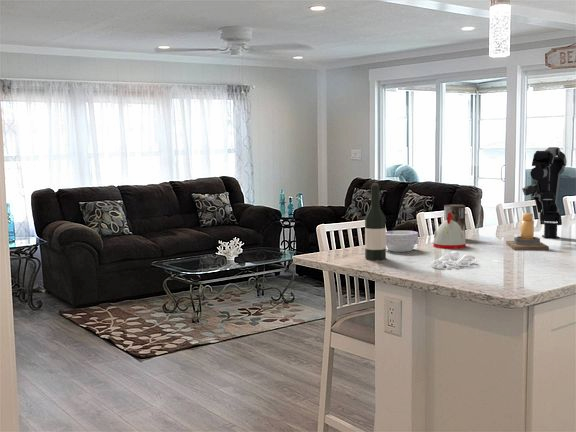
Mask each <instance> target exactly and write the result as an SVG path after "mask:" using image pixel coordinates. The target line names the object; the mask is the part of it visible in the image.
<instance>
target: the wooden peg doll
mask: <svg viewBox="0 0 576 432" xmlns="http://www.w3.org/2000/svg"><path fill="white" fill-rule="evenodd" d="M533 218H534V217H533V213H530V212H529V213H527V212H526V213H525V212H524V213H522V220H520V236H521V239H533V238H534V237H535V236H534V232H535V231H534V228H535V227H534V226H535V225H534V224H535V221H534V220H533Z"/></svg>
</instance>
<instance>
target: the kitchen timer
mask: <svg viewBox="0 0 576 432" xmlns="http://www.w3.org/2000/svg"><path fill="white" fill-rule="evenodd" d="M432 243H433V245H432V246H433V248H438V249H442V250H443V249H445V250H447V249H448V250H456V249H457V250H459V249H464V248H466V247H467V246H466V245H467V243H466V233H465V234H464V231H462V229H461V227H460V226H459V225H458V224H457V223H456V222H455V221H453V220H452V215H451V213H448V217H447V220H446V221H444V220H443V222H442V223H441V224H440V225H439V226H438V227H437V229H436V230H434V234H433V242H432Z"/></svg>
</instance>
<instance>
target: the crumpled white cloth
mask: <svg viewBox="0 0 576 432" xmlns="http://www.w3.org/2000/svg"><path fill="white" fill-rule="evenodd" d="M472 261H473V262H472ZM476 263H477V259H476V256H474V255H472V254H464V255H463V256H462V257H461V258H460V253H459V252H458V251H456V250H453V251H451V252H449V251H447V253H446V254H444V255H442V256H441V257H439V258H437V259H435V260H432V261H431V262H429V264H430V266H431V267H433V268H436V269H437V270H451V269H452V268H456V267H468V266H471V264H472V265H474V264H476ZM445 267H446V268H445Z"/></svg>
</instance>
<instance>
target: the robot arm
mask: <svg viewBox="0 0 576 432" xmlns="http://www.w3.org/2000/svg"><path fill="white" fill-rule="evenodd" d="M531 167H533V168H532V169H531V170H530V172H529V174H530V177H531V178H532V180H534V182H533V184H529V185H527V186H525V187H522V188H521V190H522V192H523V195H524V196H529V195H530V197H531V199H532V200H534V202H535V206H536V209H537V210H536V211H537V213H539V221H540V223H539V224H540V225H543V227H544V229H543V235H541V237H542V238H544V239H560V236H558V226H563V225H562V224H563V220H562V219H563V218H562V215H561V213H560V209H559V206H558V205H557V204H558V197H559V196H558V195H559V188H560V180H561V179H560V178H561V175H562V174H563V173H564V171H565V168H566V167H567V157H566V154H565V153H564V152H562V151H561V149H560V147H558V146H555V147H554V146H552V147H551V146H550V147H547V148H546V149H545V150H536V151H535V153H534V154H533V157H532V163H531Z"/></svg>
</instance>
